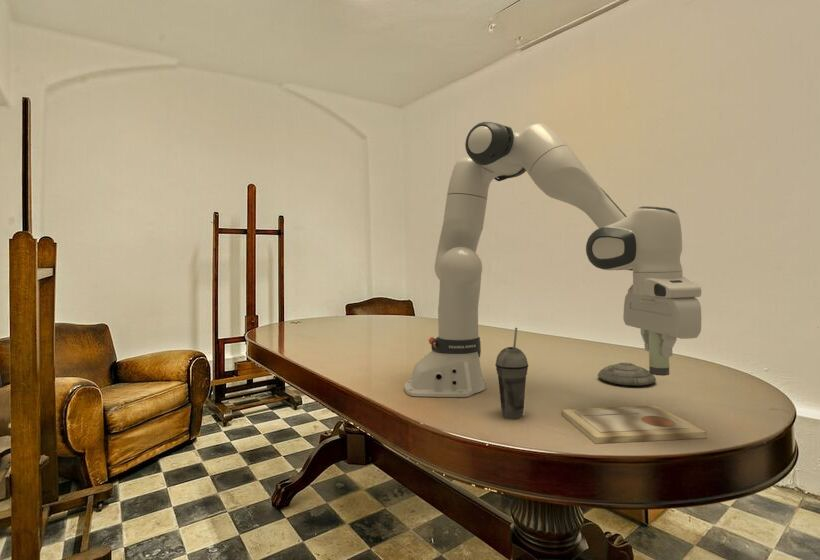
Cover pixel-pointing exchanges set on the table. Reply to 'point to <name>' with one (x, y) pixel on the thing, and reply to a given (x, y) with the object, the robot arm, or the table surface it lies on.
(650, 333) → the cylinder
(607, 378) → the flying saucer
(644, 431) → the sketch board
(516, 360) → the beverage cup
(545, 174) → the robot arm
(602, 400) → the table surface
